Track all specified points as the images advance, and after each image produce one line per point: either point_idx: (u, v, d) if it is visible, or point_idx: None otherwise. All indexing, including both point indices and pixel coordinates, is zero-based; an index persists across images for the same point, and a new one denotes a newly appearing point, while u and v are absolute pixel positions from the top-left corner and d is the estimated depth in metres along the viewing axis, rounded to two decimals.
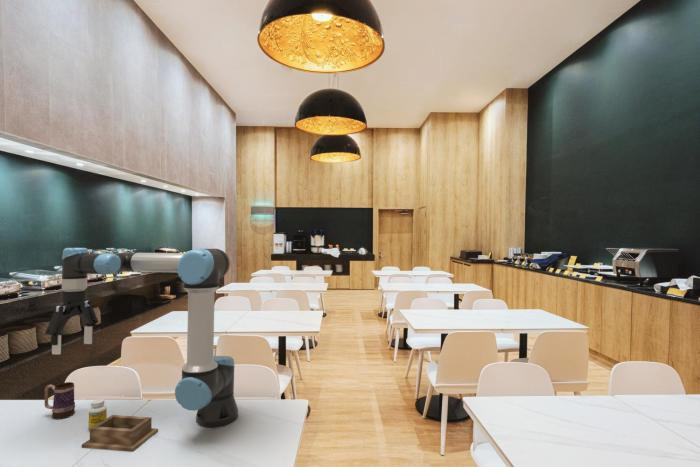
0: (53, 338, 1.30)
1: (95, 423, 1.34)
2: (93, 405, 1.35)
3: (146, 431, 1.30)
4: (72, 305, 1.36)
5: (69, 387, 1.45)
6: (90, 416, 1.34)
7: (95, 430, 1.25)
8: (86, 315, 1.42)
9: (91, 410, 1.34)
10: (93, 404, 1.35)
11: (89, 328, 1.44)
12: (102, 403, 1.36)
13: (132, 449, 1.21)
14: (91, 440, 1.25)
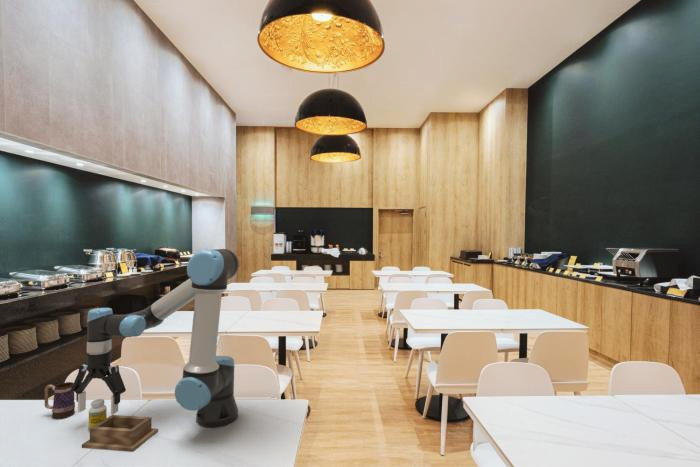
0: None
1: (95, 423, 1.34)
2: (93, 405, 1.35)
3: (146, 431, 1.30)
4: (91, 367, 1.36)
5: (69, 387, 1.45)
6: (90, 416, 1.34)
7: (95, 430, 1.25)
8: (107, 381, 1.35)
9: (91, 410, 1.34)
10: (93, 404, 1.35)
11: None
12: (102, 403, 1.36)
13: (132, 449, 1.21)
14: (91, 440, 1.25)
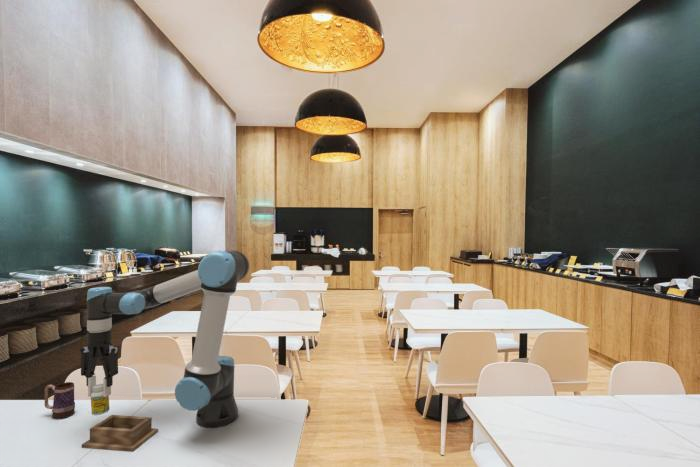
0: None
1: (98, 407, 1.34)
2: (94, 389, 1.35)
3: (146, 431, 1.30)
4: (91, 344, 1.36)
5: (69, 387, 1.45)
6: (92, 400, 1.34)
7: (95, 430, 1.25)
8: (103, 362, 1.35)
9: (92, 395, 1.34)
10: (94, 388, 1.35)
11: None
12: None
13: (132, 449, 1.21)
14: (91, 440, 1.25)
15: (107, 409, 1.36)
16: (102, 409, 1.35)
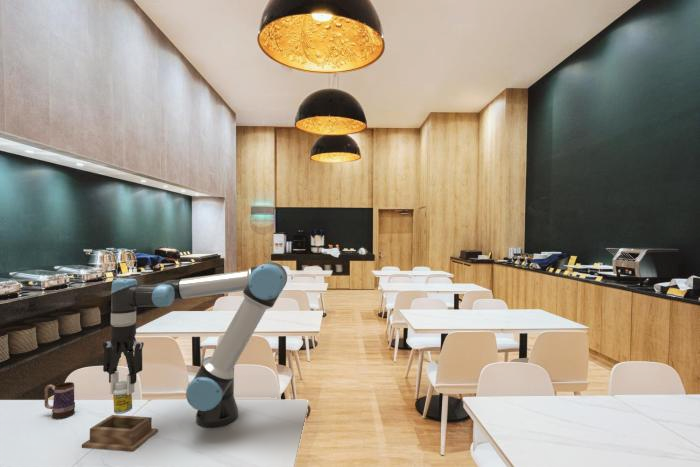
0: None
1: (121, 405, 1.27)
2: (117, 386, 1.27)
3: (146, 431, 1.30)
4: (115, 339, 1.29)
5: (69, 387, 1.45)
6: (115, 398, 1.27)
7: (95, 430, 1.25)
8: (127, 358, 1.28)
9: (115, 392, 1.27)
10: (117, 385, 1.27)
11: None
12: None
13: (132, 449, 1.21)
14: (91, 440, 1.25)
15: (130, 408, 1.29)
16: (125, 408, 1.27)
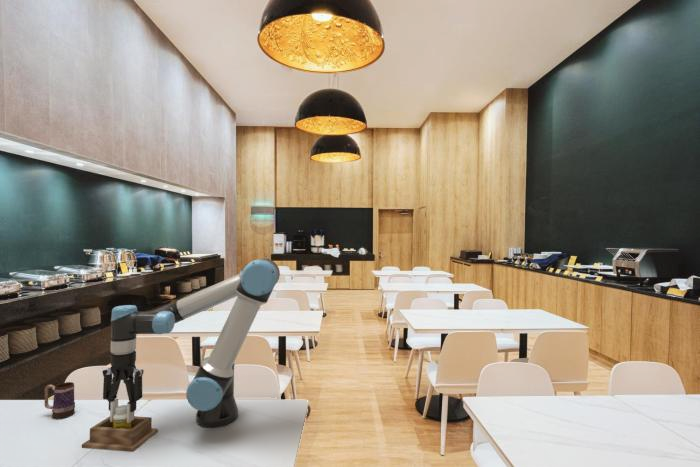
0: None
1: None
2: (118, 411, 1.27)
3: (146, 431, 1.30)
4: (115, 366, 1.28)
5: (69, 387, 1.45)
6: (115, 423, 1.26)
7: (95, 430, 1.25)
8: (127, 385, 1.28)
9: (115, 417, 1.27)
10: (118, 410, 1.27)
11: None
12: None
13: (132, 449, 1.21)
14: (91, 440, 1.25)
15: None
16: None
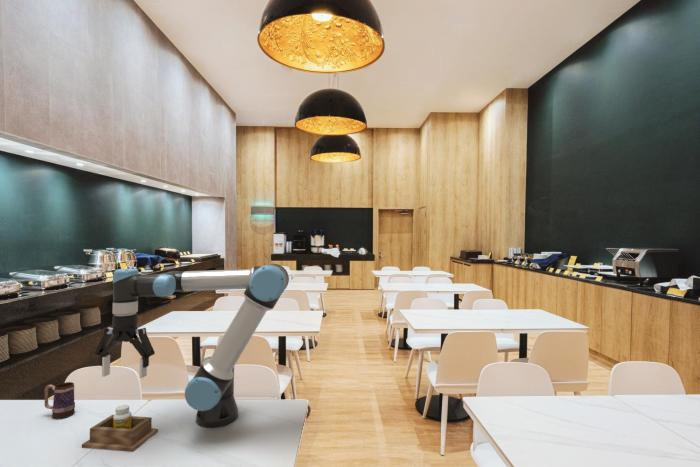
0: None
1: None
2: (118, 411, 1.27)
3: (146, 431, 1.30)
4: (117, 329, 1.30)
5: (69, 387, 1.45)
6: (115, 423, 1.26)
7: (95, 430, 1.25)
8: (134, 344, 1.29)
9: (115, 417, 1.27)
10: (118, 410, 1.27)
11: None
12: (127, 409, 1.29)
13: (132, 449, 1.21)
14: (91, 440, 1.25)
15: None
16: None
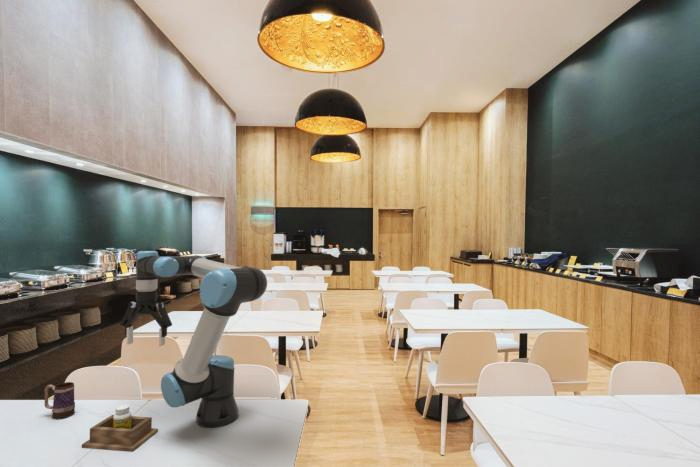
0: None
1: None
2: (118, 411, 1.27)
3: (146, 431, 1.30)
4: (140, 303, 1.48)
5: (69, 387, 1.45)
6: (115, 423, 1.26)
7: (95, 430, 1.25)
8: (154, 316, 1.47)
9: (115, 417, 1.27)
10: (118, 410, 1.27)
11: None
12: (127, 409, 1.29)
13: (132, 449, 1.21)
14: (91, 440, 1.25)
15: None
16: None
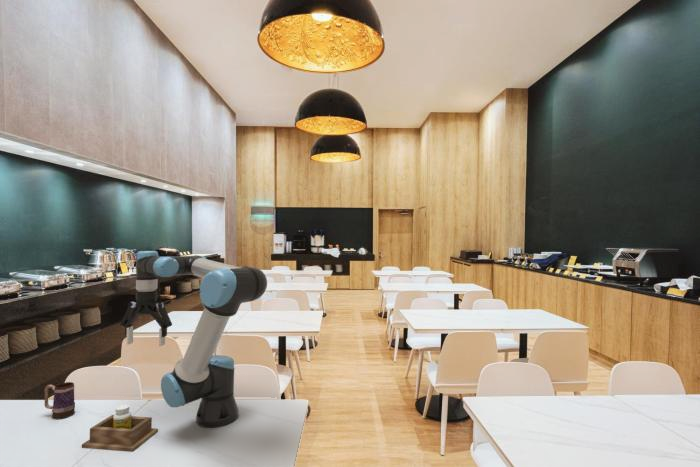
0: None
1: None
2: (118, 411, 1.27)
3: (146, 431, 1.30)
4: (140, 303, 1.48)
5: (69, 387, 1.45)
6: (115, 423, 1.26)
7: (95, 430, 1.25)
8: (154, 316, 1.47)
9: (115, 417, 1.27)
10: (118, 410, 1.27)
11: None
12: (127, 409, 1.29)
13: (132, 449, 1.21)
14: (91, 440, 1.25)
15: None
16: None
